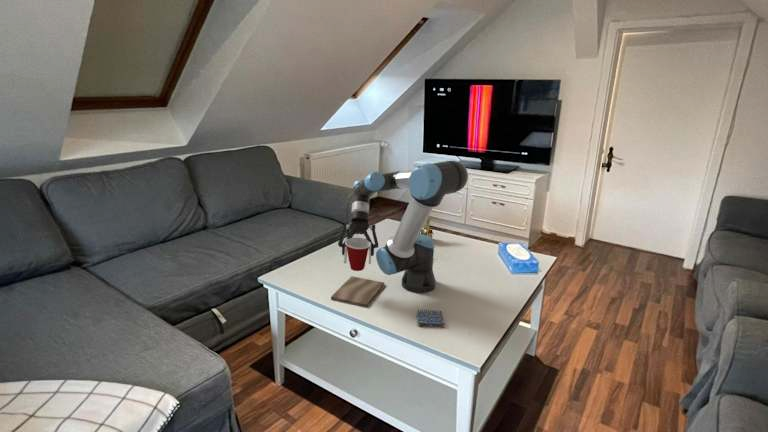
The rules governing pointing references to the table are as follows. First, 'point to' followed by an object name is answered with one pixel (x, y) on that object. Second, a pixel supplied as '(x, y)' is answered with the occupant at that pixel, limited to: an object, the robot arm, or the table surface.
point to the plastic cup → (357, 252)
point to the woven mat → (430, 318)
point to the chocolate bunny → (426, 226)
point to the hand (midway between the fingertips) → (357, 262)
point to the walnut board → (358, 291)
